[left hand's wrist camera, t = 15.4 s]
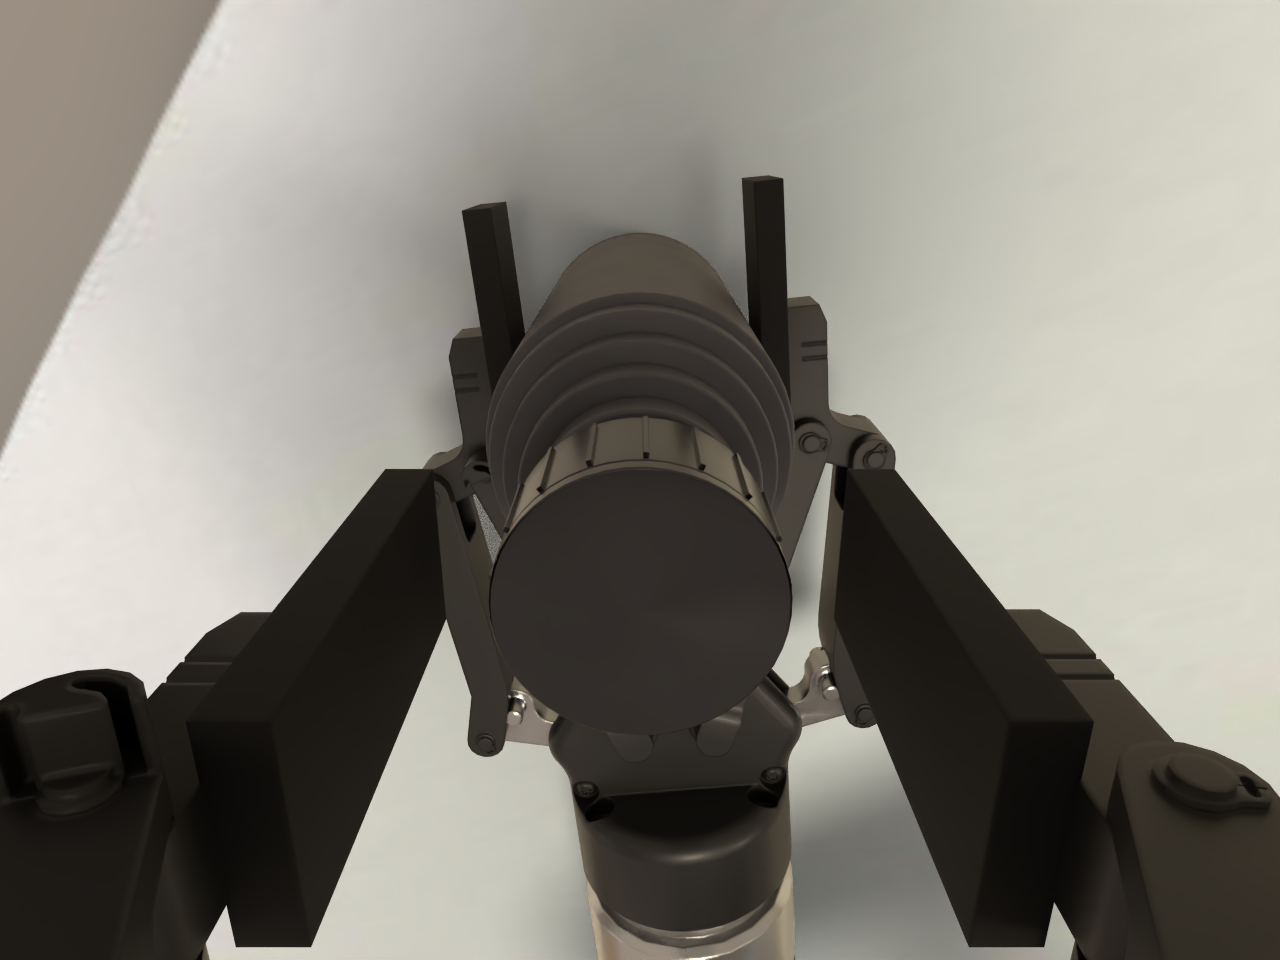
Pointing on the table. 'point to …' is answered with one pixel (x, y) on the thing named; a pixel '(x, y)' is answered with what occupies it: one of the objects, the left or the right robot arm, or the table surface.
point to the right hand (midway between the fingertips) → (622, 193)
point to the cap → (640, 579)
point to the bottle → (640, 364)
